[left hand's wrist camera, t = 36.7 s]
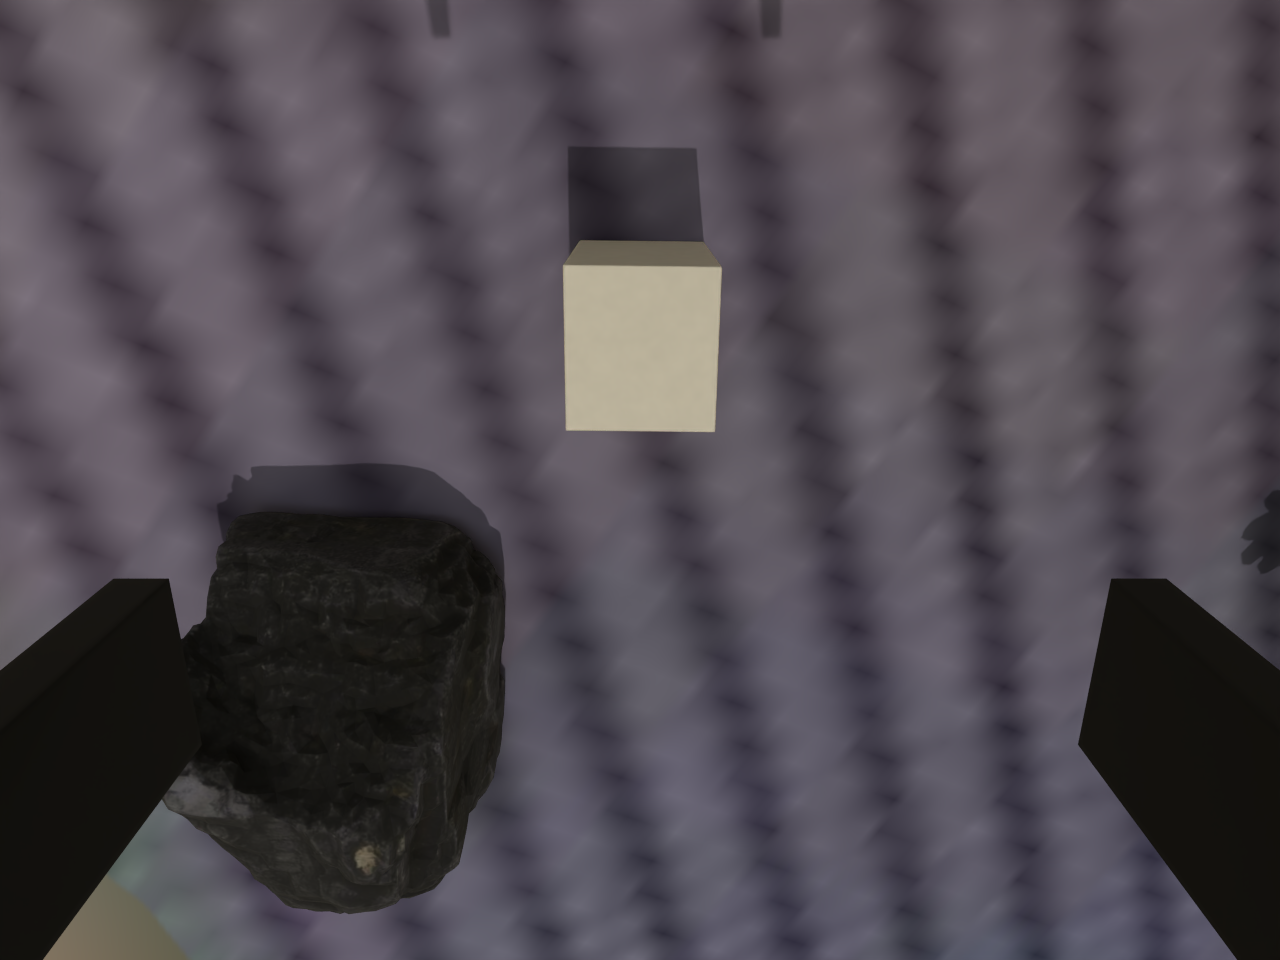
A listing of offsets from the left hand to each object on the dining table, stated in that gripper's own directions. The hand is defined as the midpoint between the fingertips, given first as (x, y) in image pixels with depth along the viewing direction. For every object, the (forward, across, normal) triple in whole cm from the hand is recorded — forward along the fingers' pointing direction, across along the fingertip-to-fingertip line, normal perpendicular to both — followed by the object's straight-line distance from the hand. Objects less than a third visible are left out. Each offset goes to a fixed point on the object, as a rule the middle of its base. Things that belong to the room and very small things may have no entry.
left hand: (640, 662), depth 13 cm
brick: (+30, 0, 0) cm, 30 cm away
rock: (+30, +14, +17) cm, 37 cm away
